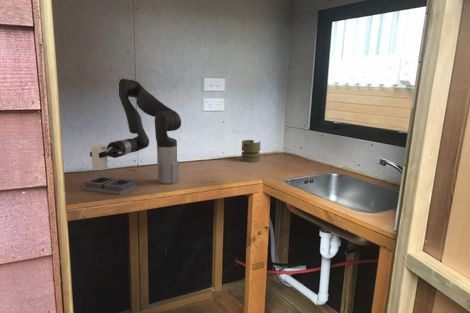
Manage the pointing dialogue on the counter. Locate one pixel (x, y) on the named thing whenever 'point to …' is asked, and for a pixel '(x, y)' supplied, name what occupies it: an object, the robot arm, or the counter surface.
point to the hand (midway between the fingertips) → (95, 155)
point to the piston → (250, 151)
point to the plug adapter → (96, 161)
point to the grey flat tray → (110, 185)
